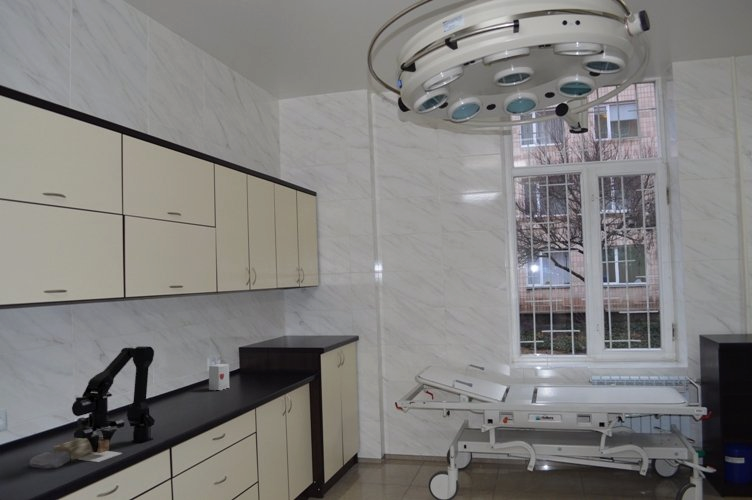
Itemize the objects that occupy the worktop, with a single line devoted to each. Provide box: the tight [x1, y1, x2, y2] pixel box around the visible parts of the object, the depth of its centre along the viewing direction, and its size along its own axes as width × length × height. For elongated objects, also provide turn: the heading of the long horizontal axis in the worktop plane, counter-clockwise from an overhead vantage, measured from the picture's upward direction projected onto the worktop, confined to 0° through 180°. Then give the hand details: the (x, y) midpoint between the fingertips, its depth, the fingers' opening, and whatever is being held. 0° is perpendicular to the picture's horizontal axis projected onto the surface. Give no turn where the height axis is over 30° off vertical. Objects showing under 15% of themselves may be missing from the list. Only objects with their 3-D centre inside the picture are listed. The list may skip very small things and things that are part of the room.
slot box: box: [53, 435, 103, 462], centre depth 228 cm, size 17×10×4 cm, turn 155°
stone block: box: [29, 451, 70, 469], centre depth 215 cm, size 12×5×10 cm
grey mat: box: [77, 450, 123, 463], centre depth 222 cm, size 11×11×1 cm
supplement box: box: [208, 363, 230, 391], centre depth 355 cm, size 9×9×15 cm
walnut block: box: [91, 439, 110, 453], centre depth 223 cm, size 4×5×4 cm
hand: (100, 450), depth 222 cm, fingers closed on walnut block, 4 cm apart
